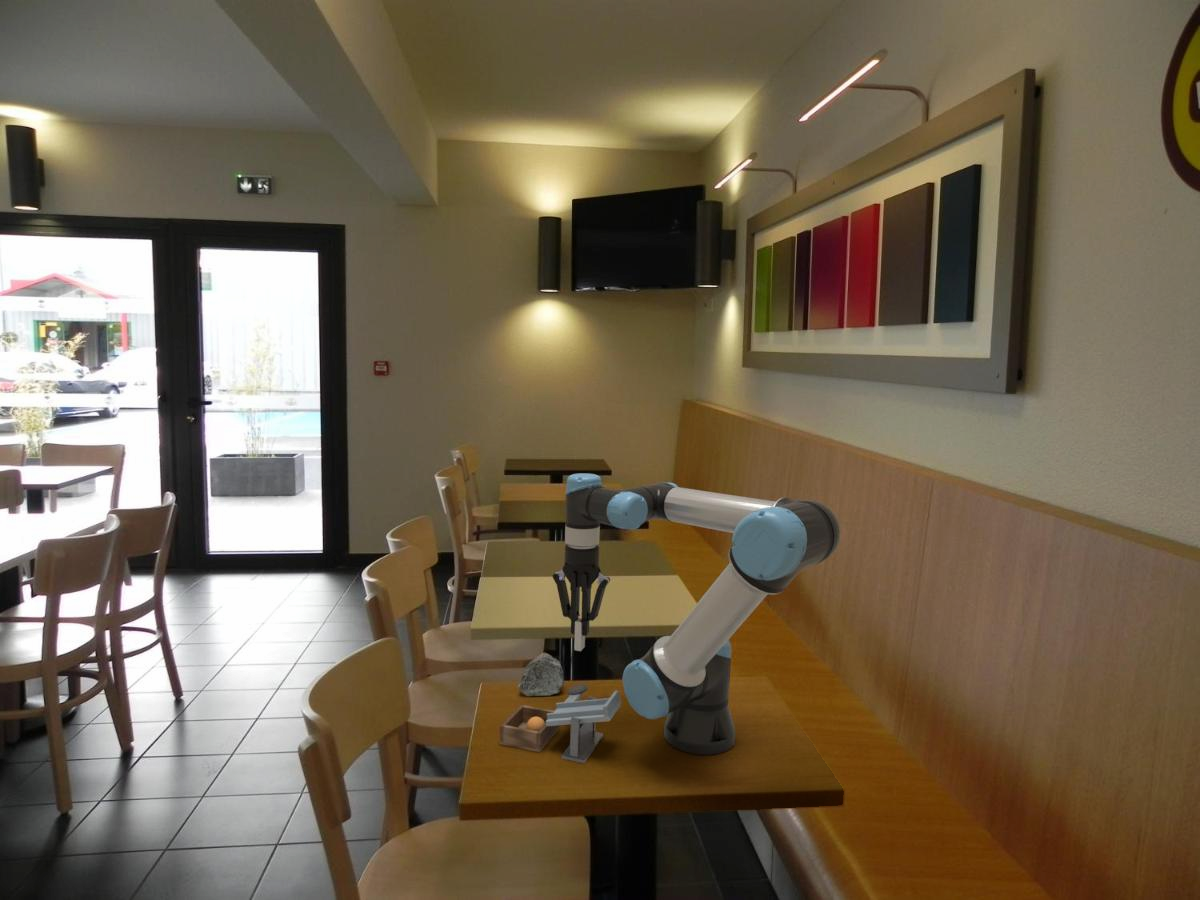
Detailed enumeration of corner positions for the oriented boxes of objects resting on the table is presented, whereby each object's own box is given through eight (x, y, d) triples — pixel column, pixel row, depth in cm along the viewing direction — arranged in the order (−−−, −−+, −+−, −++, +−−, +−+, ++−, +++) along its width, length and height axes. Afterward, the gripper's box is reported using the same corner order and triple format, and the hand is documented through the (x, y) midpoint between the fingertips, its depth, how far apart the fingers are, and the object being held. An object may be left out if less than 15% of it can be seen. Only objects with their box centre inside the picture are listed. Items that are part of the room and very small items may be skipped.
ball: (550, 718, 167) (534, 710, 168) (543, 727, 163) (526, 718, 164) (544, 734, 168) (528, 726, 169) (537, 743, 164) (521, 734, 165)
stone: (541, 658, 183) (552, 642, 193) (510, 681, 185) (522, 664, 195) (567, 691, 183) (576, 673, 193) (535, 713, 185) (545, 694, 195)
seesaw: (634, 685, 173) (631, 672, 173) (609, 722, 156) (605, 707, 156) (573, 691, 178) (570, 679, 178) (542, 727, 161) (539, 713, 160)
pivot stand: (603, 735, 168) (604, 697, 167) (584, 763, 157) (585, 722, 156) (581, 731, 170) (582, 694, 169) (561, 758, 158) (562, 718, 157)
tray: (558, 729, 171) (559, 711, 170) (539, 752, 161) (540, 733, 160) (520, 721, 173) (521, 704, 173) (499, 744, 163) (500, 726, 163)
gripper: (615, 543, 172) (612, 646, 175) (560, 537, 176) (558, 638, 179) (605, 551, 165) (602, 658, 168) (547, 545, 169) (545, 650, 172)
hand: (579, 648), depth 174 cm, fingers closed
